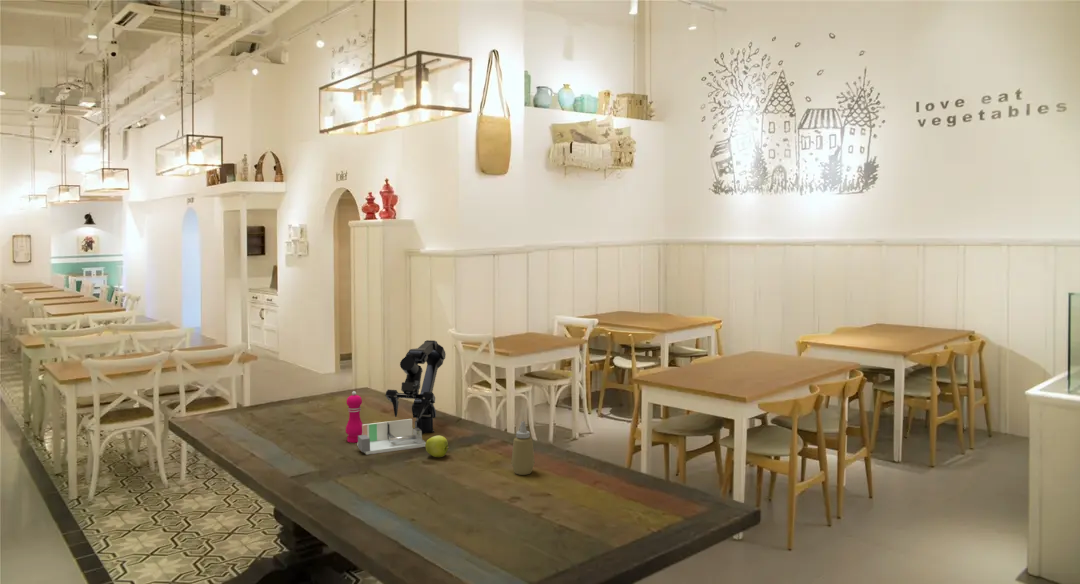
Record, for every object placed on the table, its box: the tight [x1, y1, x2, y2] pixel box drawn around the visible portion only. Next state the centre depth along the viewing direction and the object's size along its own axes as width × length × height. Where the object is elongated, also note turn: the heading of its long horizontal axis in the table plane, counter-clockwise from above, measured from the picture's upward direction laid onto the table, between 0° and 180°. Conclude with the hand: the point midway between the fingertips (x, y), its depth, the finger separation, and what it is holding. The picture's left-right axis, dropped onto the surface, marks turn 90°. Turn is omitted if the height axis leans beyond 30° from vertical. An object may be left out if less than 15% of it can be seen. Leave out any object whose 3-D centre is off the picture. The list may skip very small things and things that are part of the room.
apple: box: [424, 435, 450, 458], centre depth 286 cm, size 8×9×8 cm
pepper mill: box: [345, 390, 364, 444], centre depth 308 cm, size 7×7×20 cm
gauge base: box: [356, 418, 426, 456], centre depth 300 cm, size 26×13×8 cm, turn 117°
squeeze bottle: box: [511, 421, 536, 476], centre depth 267 cm, size 8×8×18 cm
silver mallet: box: [387, 424, 423, 444], centre depth 302 cm, size 12×11×6 cm
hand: (407, 417), depth 299 cm, fingers open, 9 cm apart
